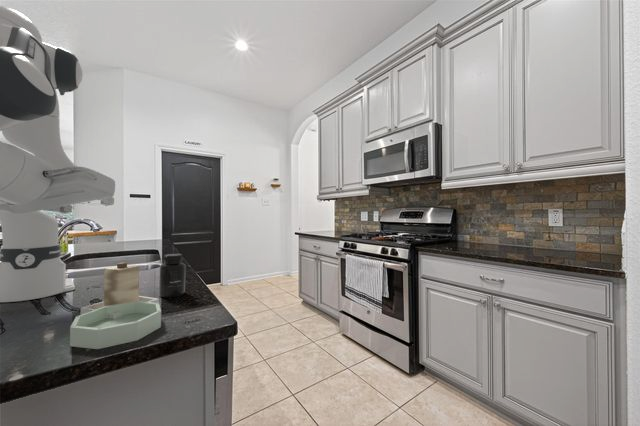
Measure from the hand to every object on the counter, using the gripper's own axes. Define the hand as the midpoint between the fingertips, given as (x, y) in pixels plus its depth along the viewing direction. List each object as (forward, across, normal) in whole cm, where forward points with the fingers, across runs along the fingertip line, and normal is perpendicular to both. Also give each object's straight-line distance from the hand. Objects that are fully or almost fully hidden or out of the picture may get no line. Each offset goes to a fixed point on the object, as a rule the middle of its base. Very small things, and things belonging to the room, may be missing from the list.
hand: (90, 206), depth 58 cm
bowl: (+6, -4, +27) cm, 28 cm away
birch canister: (+16, +4, +22) cm, 27 cm away
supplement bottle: (+29, -1, +18) cm, 34 cm away
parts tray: (+16, +4, +22) cm, 27 cm away
